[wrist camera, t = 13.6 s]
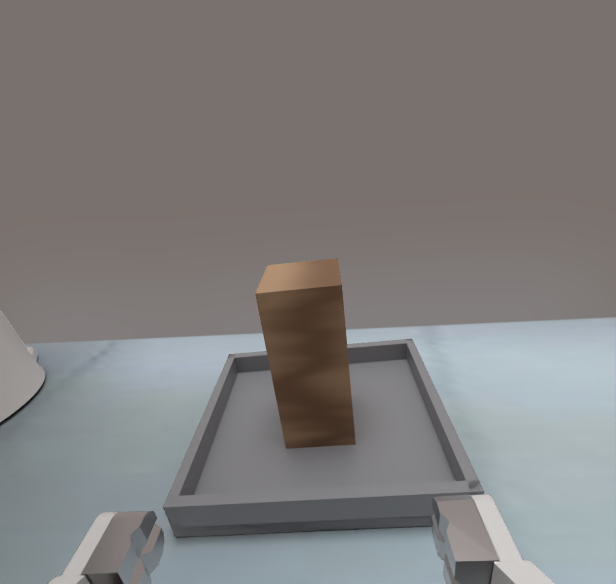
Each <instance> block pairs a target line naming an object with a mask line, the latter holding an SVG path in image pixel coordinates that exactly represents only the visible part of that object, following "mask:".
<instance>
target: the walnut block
mask: <svg viewBox="0 0 616 584" xmlns="http://www.w3.org/2000/svg"><path fill="white" fill-rule="evenodd" d="M256 299H257V304H258V310H259V315H260V319H261V325H262V330H263V335H264V340H265V345H266V350H267V355H268V360H269V365H270V371H271V376H272V381H273V386H274V391H275V396H276V401H277V406H278V411H279V416H280V421H281V426H282V432H283V437H284V442H285V447H286V449H291V448H307V447H324V446H340V445H356V441H355V430H354V418H353V407H352V396H351V384H350V373H349V362H348V350H347V339H346V328H345V317H344V305H343V294H342V284H341V277H340V270H339V264H338V258H336V259H325V260H315V261H307V262H296V263H287V264H278V265H269V266H267V268H266V271H265V273H264V275H263V277H262V279H261V282H260V284H259V286H258V289H257V291H256Z"/></svg>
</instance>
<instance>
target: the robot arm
mask: <svg viewBox="0 0 616 584" xmlns="http://www.w3.org/2000/svg"><path fill="white" fill-rule="evenodd" d="M37 357H38V354H37V353H36V351H35V350H34V348H33V347H26V346H25V345H24V343H23V342H22V341H21V339H20V338H19V336H18V335H17V333H16V332H15V330H14V329H13V327H12V326H11V324H10V323H9V322H8V320H7V319H6V317H5V316H4V314H3V313H2V312H1V310H0V422H1V421H3V420H4V419H6V418H7V417H9V416H10V415H11V414H13V413H14V412H15V411H17V410H18V409H19V408H20V407H22V406H23V405H24V404H25V403H26V402H27V401H28V400H29V399H30V398H31V397H32V396H33V395H34V394H35V393H36V392H37V391H38V390H39V388H40V387H41V385H42V384H43V382H44V379H45V371H44V369H43V368H42V367H41V366H40V365H39V364H38V363H37V362H36V361H37ZM432 508H433V511H434V514H433V515H432V516H431V525H432V533H433V538H434V543H435V547H436V550H437V554H438V556H439V557H440V558H441V559H442V560H443V561H444V571H443V575H444V578H445V582H446V584H555V583H554V582H553V581H552V580H550V579H549V578H548V577H547V576H546V575H545V574H544V573H543V572H542V571H540V570H539V569H538V568H537V567H536V566H535V565H534V564H533V563H531V562H530V561H523V559H522V557H521V555H520V553H519V551H518V549H517V547H516V545H515V543H514V541H513V539H512V537H511V535H510V533H509V531H508V529H507V527H506V525H505V523H504V521H503V518H502V516H501V514H500V512H499V510H498V508H497V506H496V504H495V502H494V500H493V498H492V497H491V496H490V495H488V494H482V495H457V496H442V497H433V499H432ZM156 519H157V517H156V515H155V513H154V511H136V512H107V513H101V514H100V515H99V516H98V517H97V518H96V519H95V521H94V522H93V524H92V526H91V527H90V529H89V531H88V532H87V534H86V536H85V537H84V539H83V541H82V542H81V544H80V546H79V547H78V549H77V551H76V552H75V554H74V556H73V557H72V559H71V561H70V562H69V564H68V566H67V567H66V569H65V571H64V572H63V574H62V575H61V576H56V577H55V578H54V579H52V580H51V581H50V582H49V583H48V584H151V579H150V573H151V572H152V571H153V570H154V569H155V568H156V567H157V566H158V564H159V562H160V559H161V556H162V553H163V547H164V533H163V531H162V528H161V527H159V526H158V525H156V524H155V522H156Z"/></svg>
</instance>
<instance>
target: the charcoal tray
mask: <svg viewBox="0 0 616 584" xmlns="http://www.w3.org/2000/svg"><path fill="white" fill-rule="evenodd" d="M347 350H348V362H349V373H350V384H351V396H352V407H353V418H354V430H355V441H356V445H340V446H324V447H307V448H291V449H286V447H285V442H284V437H283V432H282V426H281V421H280V416H279V411H278V406H277V401H276V396H275V391H274V386H273V381H272V376H271V371H270V365H269V360H268V355H267V351H263V352H252V353H240V354H229V356H228V358H227V361H226V363H225V365H224V368H223V370H222V372H221V375H220V377H219V379H218V382H217V384H216V386H215V388H214V391H213V393H212V395H211V398H210V400H209V402H208V405H207V407H206V409H205V412H204V414H203V416H202V418H201V421H200V423H199V425H198V428H197V430H196V432H195V435H194V437H193V439H192V442H191V444H190V446H189V449H188V451H187V453H186V455H185V458H184V460H183V462H182V465H181V467H180V469H179V472H178V474H177V476H176V479H175V481H174V483H173V485H172V488H171V490H170V492H169V495H168V497H167V499H166V502H165V504H164V506H163V509H164V511H165V513H166V516H167V518H168V520H169V523H170V525H171V527H172V530H173V532H174V535H175V537H188V536H211V535H234V534H257V533H280V532H303V531H326V530H349V529H372V528H395V527H418V526H432V525H431V516H432V515H433V514H434V511H433V508H432V499H433V497H442V496H457V495H482V494H484V490H483V488H482V486H481V484H480V482H479V480H478V478H477V476H476V473H475V471H474V469H473V467H472V465H471V463H470V461H469V459H468V456H467V454H466V452H465V450H464V448H463V446H462V444H461V442H460V439H459V437H458V435H457V433H456V431H455V429H454V427H453V425H452V423H451V420H450V418H449V416H448V414H447V412H446V410H445V408H444V406H443V403H442V401H441V399H440V397H439V395H438V393H437V391H436V389H435V386H434V384H433V382H432V380H431V378H430V376H429V374H428V372H427V370H426V367H425V365H424V363H423V361H422V359H421V357H420V355H419V353H418V350H417V348H416V346H415V344H414V342H413V340H412V339H404V340H393V341H381V342H369V343H357V344H347Z"/></svg>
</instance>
